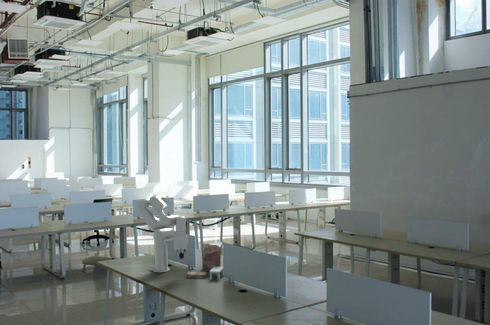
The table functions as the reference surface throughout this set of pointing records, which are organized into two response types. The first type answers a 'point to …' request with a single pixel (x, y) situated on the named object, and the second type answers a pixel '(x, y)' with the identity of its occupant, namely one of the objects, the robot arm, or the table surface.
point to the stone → (210, 256)
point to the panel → (197, 274)
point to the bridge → (216, 272)
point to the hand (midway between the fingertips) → (181, 258)
